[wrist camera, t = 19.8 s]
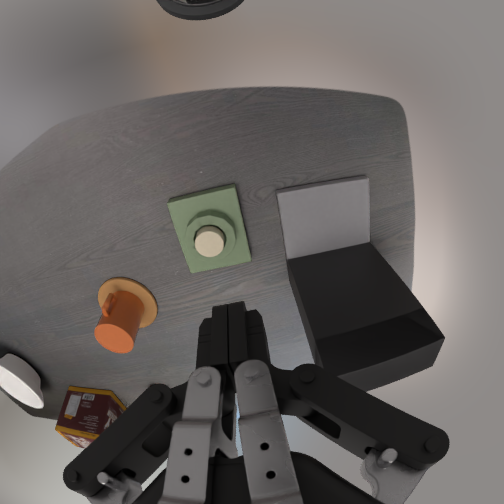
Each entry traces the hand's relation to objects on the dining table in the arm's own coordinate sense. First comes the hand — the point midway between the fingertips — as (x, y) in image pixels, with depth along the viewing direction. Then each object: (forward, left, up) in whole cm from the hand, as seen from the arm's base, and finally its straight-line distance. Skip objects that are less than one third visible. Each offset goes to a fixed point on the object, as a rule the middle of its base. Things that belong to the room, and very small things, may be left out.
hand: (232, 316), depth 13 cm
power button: (+6, -4, -22) cm, 23 cm away
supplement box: (+47, -50, -25) cm, 73 cm away
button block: (+6, -4, -25) cm, 26 cm away
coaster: (+16, -22, -25) cm, 37 cm away
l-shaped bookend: (+10, +12, -25) cm, 29 cm away
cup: (+16, -22, -24) cm, 37 cm away
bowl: (+34, -73, -25) cm, 84 cm away
